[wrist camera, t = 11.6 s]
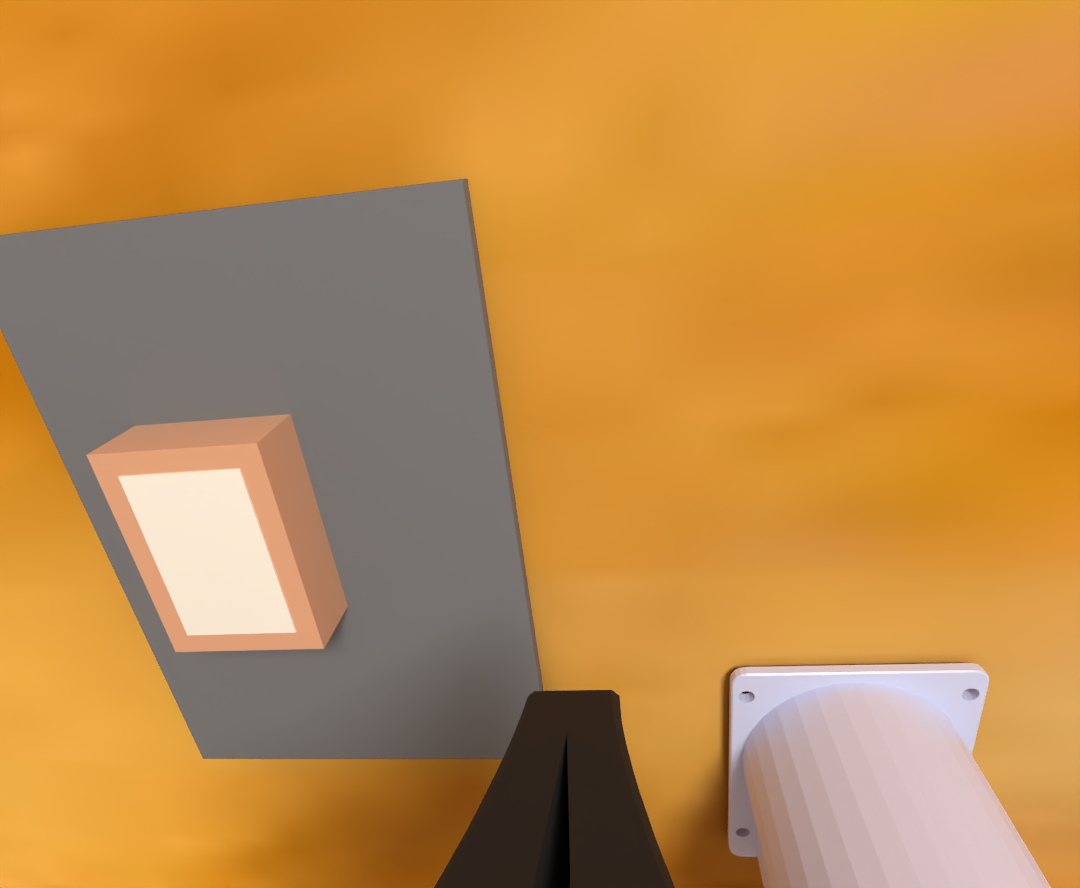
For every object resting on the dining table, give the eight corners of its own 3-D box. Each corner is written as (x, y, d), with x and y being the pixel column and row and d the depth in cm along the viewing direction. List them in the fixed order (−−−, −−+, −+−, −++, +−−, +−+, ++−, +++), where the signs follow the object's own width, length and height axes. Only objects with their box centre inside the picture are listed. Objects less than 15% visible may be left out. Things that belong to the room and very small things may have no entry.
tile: (323, 649, 20) (174, 653, 20) (347, 606, 21) (210, 610, 22) (255, 444, 17) (84, 455, 17) (290, 414, 19) (134, 426, 19)
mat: (551, 745, 24) (550, 759, 24) (211, 745, 26) (203, 758, 26) (467, 178, 16) (462, 179, 15) (-22, 237, 18) (-41, 241, 17)
